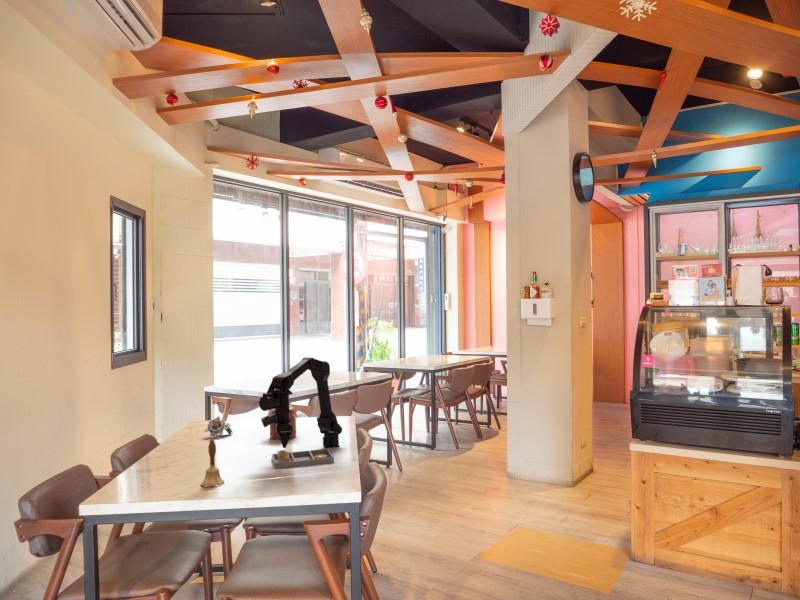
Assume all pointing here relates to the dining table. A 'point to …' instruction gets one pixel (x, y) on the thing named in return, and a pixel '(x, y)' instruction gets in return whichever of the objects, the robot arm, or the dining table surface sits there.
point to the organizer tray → (304, 458)
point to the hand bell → (212, 469)
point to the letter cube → (283, 456)
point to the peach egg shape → (320, 456)
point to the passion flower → (218, 427)
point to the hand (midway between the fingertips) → (283, 445)
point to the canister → (292, 421)
